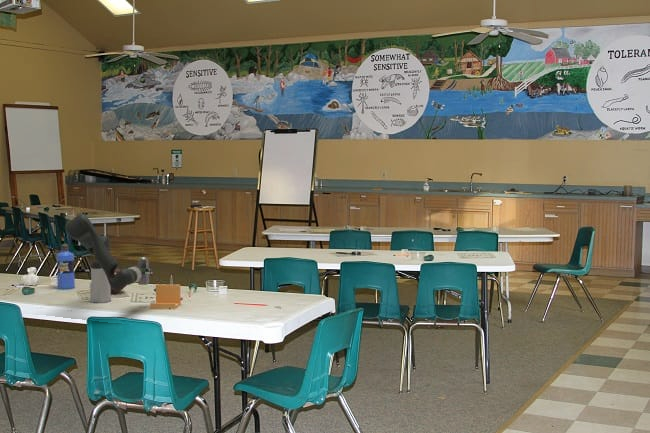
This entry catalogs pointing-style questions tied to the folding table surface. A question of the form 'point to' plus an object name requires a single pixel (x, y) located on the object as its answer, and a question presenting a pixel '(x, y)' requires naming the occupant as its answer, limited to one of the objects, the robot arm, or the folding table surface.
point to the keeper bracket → (167, 297)
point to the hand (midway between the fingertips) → (145, 269)
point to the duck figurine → (30, 277)
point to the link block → (143, 264)
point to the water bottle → (65, 269)
